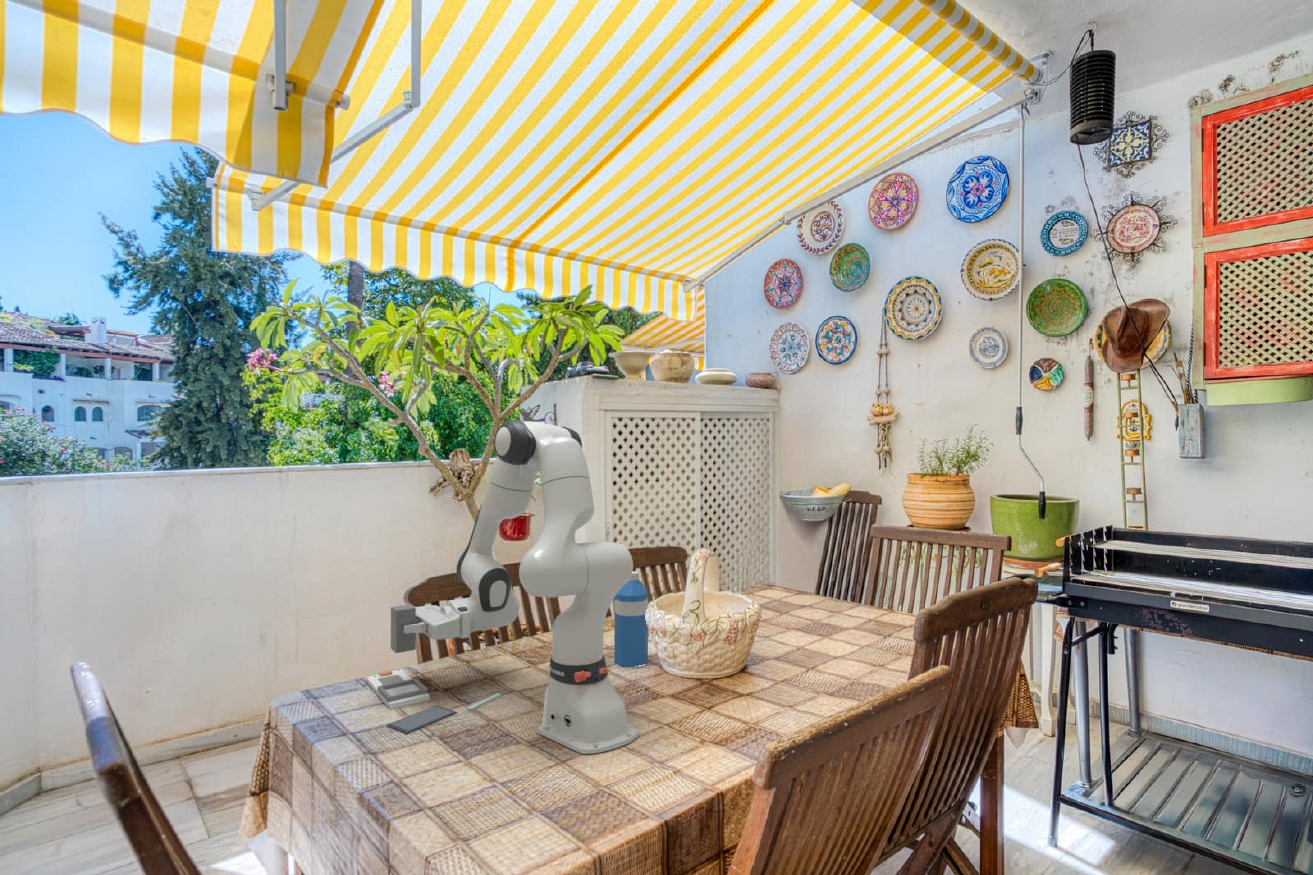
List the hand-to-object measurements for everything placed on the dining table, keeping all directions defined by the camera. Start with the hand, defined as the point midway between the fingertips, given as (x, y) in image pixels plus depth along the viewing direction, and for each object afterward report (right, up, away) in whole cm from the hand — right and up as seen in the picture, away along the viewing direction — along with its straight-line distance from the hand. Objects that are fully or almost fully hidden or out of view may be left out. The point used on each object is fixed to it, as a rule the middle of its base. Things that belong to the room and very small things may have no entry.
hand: (399, 626), depth 157 cm
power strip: (-2, -17, +4) cm, 18 cm away
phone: (+10, -18, -13) cm, 24 cm away
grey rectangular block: (+1, -6, +1) cm, 6 cm away
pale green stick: (+21, -17, -3) cm, 28 cm away
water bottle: (+55, -18, +25) cm, 63 cm away
